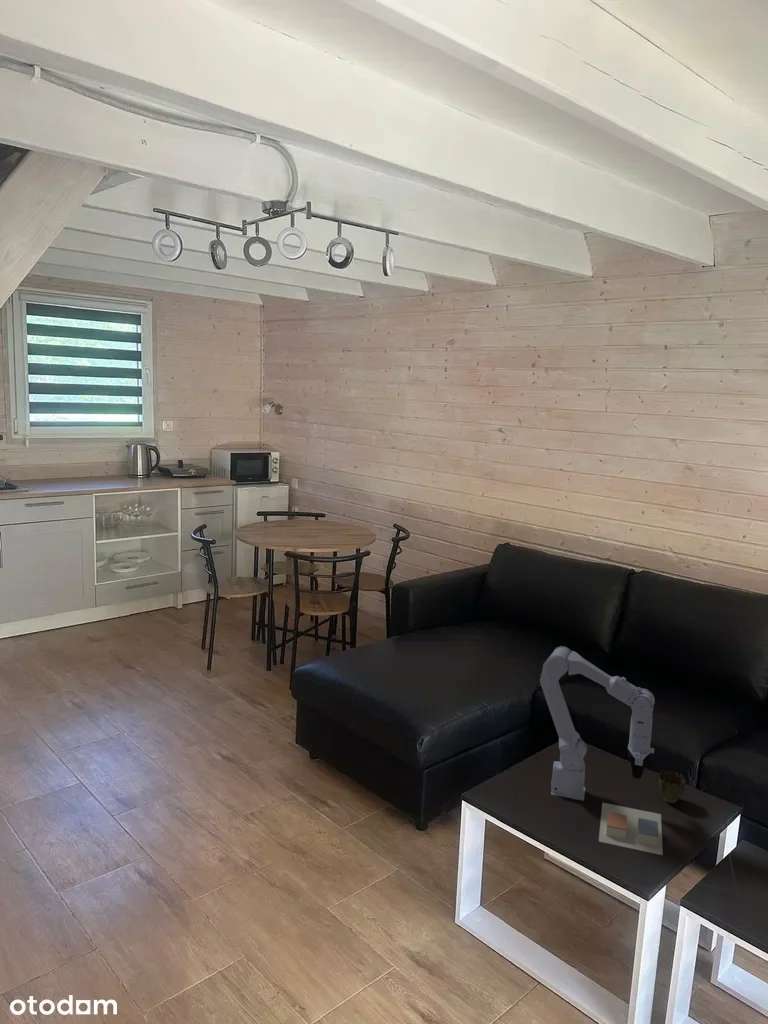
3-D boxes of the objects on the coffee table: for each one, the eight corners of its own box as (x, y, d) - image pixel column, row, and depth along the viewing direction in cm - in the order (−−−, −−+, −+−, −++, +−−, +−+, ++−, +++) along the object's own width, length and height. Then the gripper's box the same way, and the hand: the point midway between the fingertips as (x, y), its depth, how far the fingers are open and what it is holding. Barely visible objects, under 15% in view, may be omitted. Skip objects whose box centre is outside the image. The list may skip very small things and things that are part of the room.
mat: (598, 843, 192) (598, 841, 192) (602, 804, 211) (602, 802, 211) (662, 857, 187) (662, 855, 187) (660, 816, 206) (660, 814, 206)
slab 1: (607, 821, 201) (606, 835, 195) (608, 811, 201) (606, 825, 194) (626, 825, 200) (625, 839, 193) (626, 815, 199) (626, 829, 193)
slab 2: (637, 827, 199) (637, 842, 192) (638, 817, 198) (638, 831, 192) (656, 831, 197) (657, 846, 191) (657, 821, 197) (658, 835, 190)
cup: (685, 810, 209) (688, 784, 208) (658, 807, 210) (661, 781, 209) (680, 796, 216) (683, 772, 215) (654, 793, 218) (657, 768, 216)
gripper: (655, 746, 197) (651, 792, 199) (655, 724, 211) (651, 767, 213) (628, 742, 200) (624, 787, 202) (629, 720, 213) (626, 763, 215)
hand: (636, 777), depth 208 cm, fingers closed
